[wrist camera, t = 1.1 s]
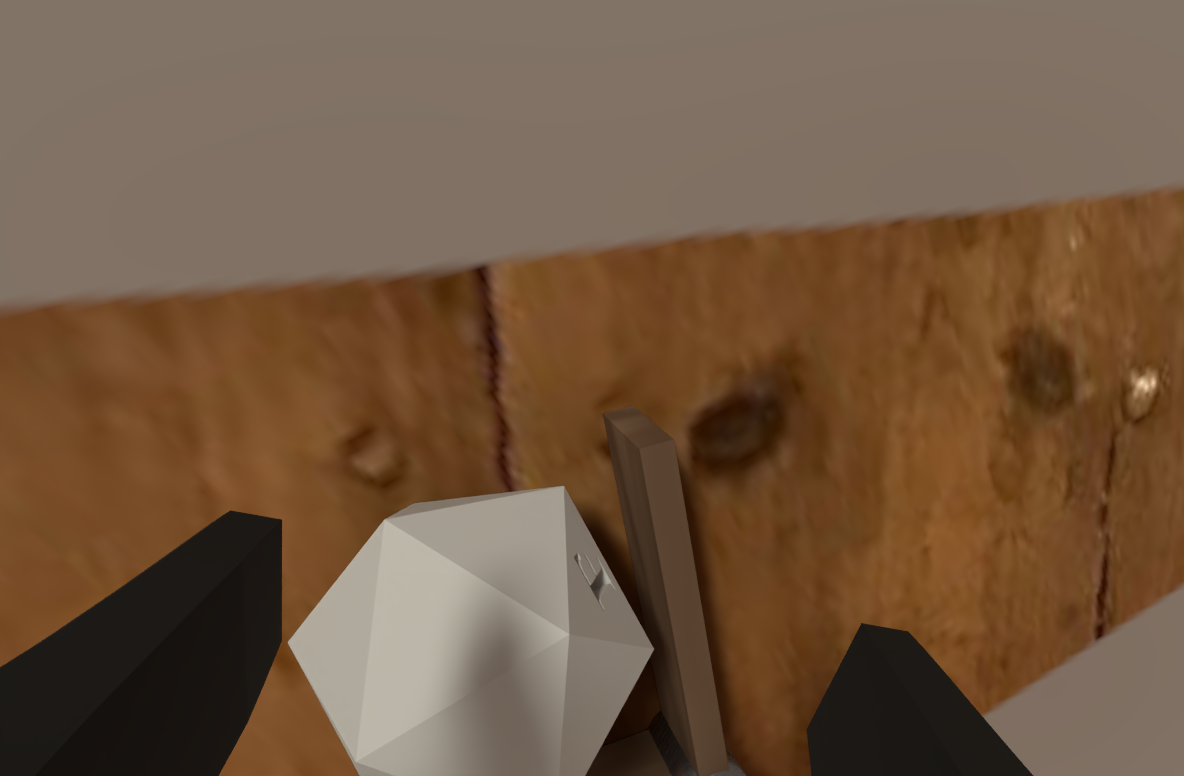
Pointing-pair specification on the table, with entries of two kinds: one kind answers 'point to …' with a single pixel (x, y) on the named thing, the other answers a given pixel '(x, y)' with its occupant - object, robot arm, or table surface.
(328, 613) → the die
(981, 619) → the table surface
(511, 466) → the table surface
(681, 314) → the table surface
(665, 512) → the wooden l-shaped bracket
